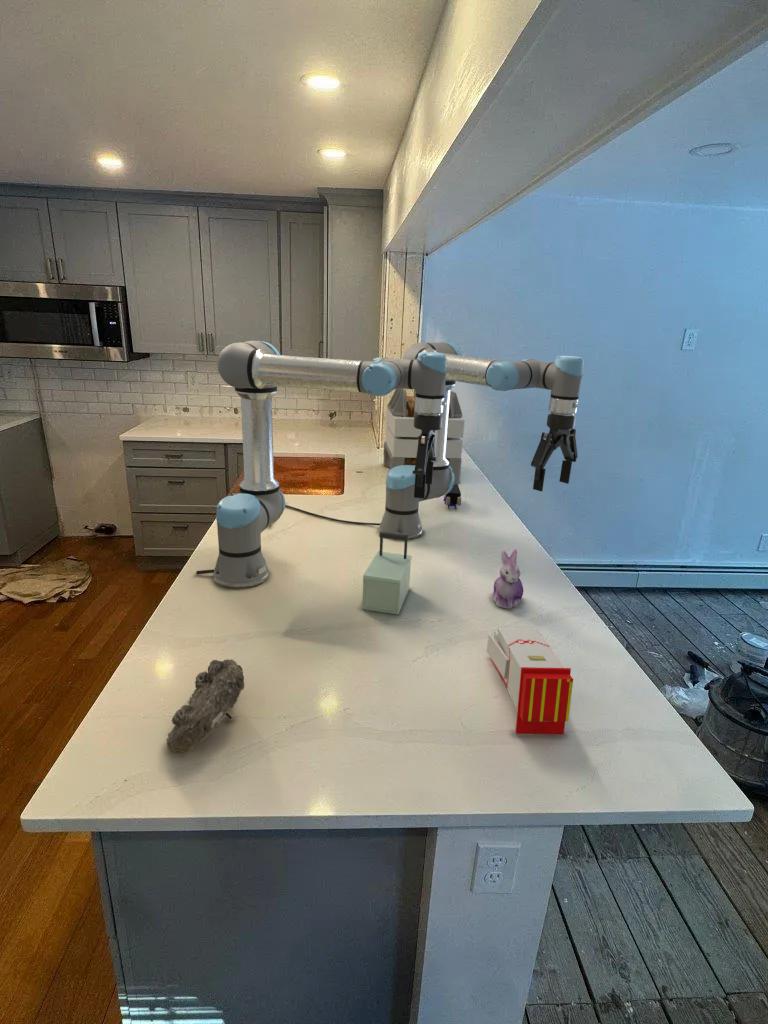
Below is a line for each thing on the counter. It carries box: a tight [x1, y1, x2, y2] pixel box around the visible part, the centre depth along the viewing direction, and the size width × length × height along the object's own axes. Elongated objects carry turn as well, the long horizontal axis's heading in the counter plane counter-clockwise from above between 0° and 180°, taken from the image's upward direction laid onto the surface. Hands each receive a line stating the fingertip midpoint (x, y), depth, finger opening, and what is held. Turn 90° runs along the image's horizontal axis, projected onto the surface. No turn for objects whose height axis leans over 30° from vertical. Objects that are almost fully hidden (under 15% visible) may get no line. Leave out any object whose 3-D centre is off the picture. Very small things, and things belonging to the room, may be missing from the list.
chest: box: [361, 560, 412, 615], centre depth 154 cm, size 15×10×9 cm, turn 167°
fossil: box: [166, 658, 245, 754], centre depth 106 cm, size 22×10×15 cm
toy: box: [486, 627, 574, 736], centre depth 118 cm, size 12×13×30 cm
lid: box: [362, 532, 413, 584], centre depth 151 cm, size 16×10×8 cm, turn 167°
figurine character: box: [442, 483, 462, 510], centre depth 230 cm, size 7×8×15 cm
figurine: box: [492, 548, 524, 609], centre depth 154 cm, size 9×10×15 cm
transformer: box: [383, 388, 465, 484], centre depth 268 cm, size 34×33×41 cm
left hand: (423, 490), depth 156 cm, fingers open, 13 cm apart
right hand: (551, 486), depth 165 cm, fingers open, 13 cm apart
